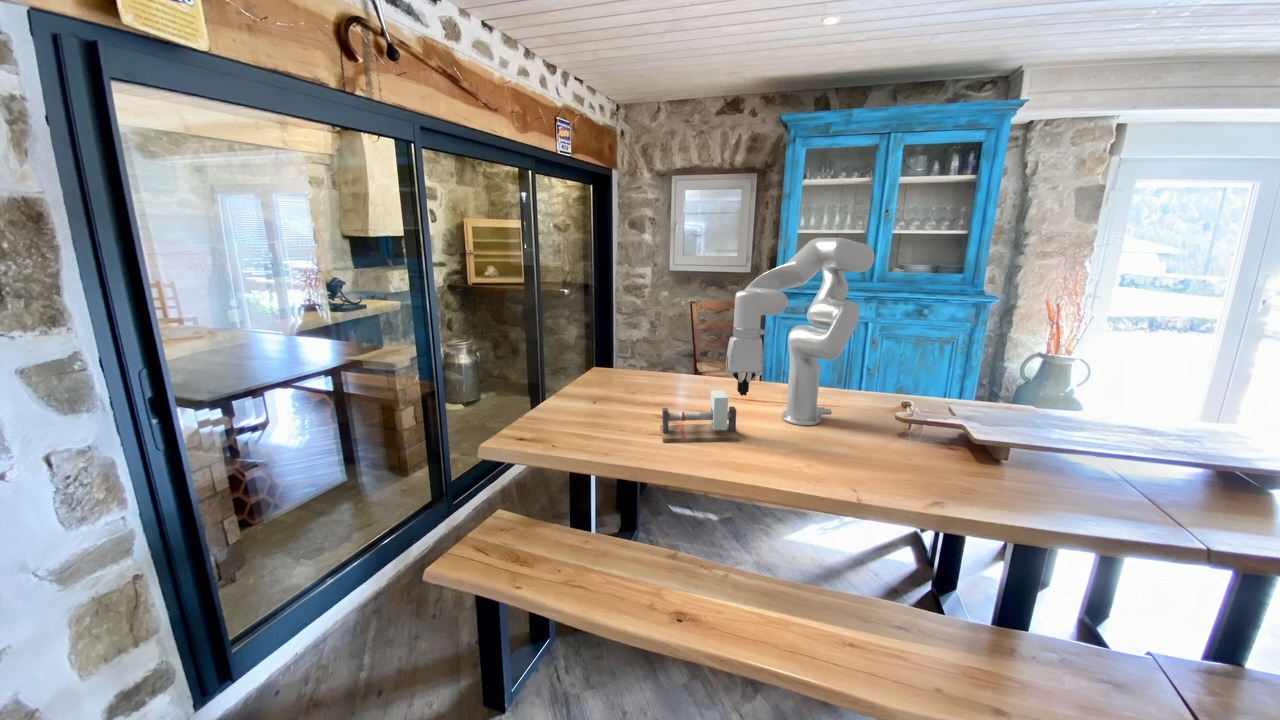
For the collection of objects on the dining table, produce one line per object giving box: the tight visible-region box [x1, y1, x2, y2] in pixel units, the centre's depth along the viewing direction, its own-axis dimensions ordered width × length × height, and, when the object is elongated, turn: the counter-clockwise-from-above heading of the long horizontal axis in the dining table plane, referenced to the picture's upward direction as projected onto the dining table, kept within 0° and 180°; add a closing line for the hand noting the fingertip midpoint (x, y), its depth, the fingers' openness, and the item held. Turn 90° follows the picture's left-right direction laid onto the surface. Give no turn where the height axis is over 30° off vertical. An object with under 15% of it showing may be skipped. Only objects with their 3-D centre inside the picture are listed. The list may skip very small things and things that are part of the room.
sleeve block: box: [709, 390, 729, 430], centre depth 153 cm, size 4×7×10 cm, turn 2°
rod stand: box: [659, 406, 741, 443], centre depth 154 cm, size 23×11×8 cm, turn 92°
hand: (742, 394), depth 149 cm, fingers closed
